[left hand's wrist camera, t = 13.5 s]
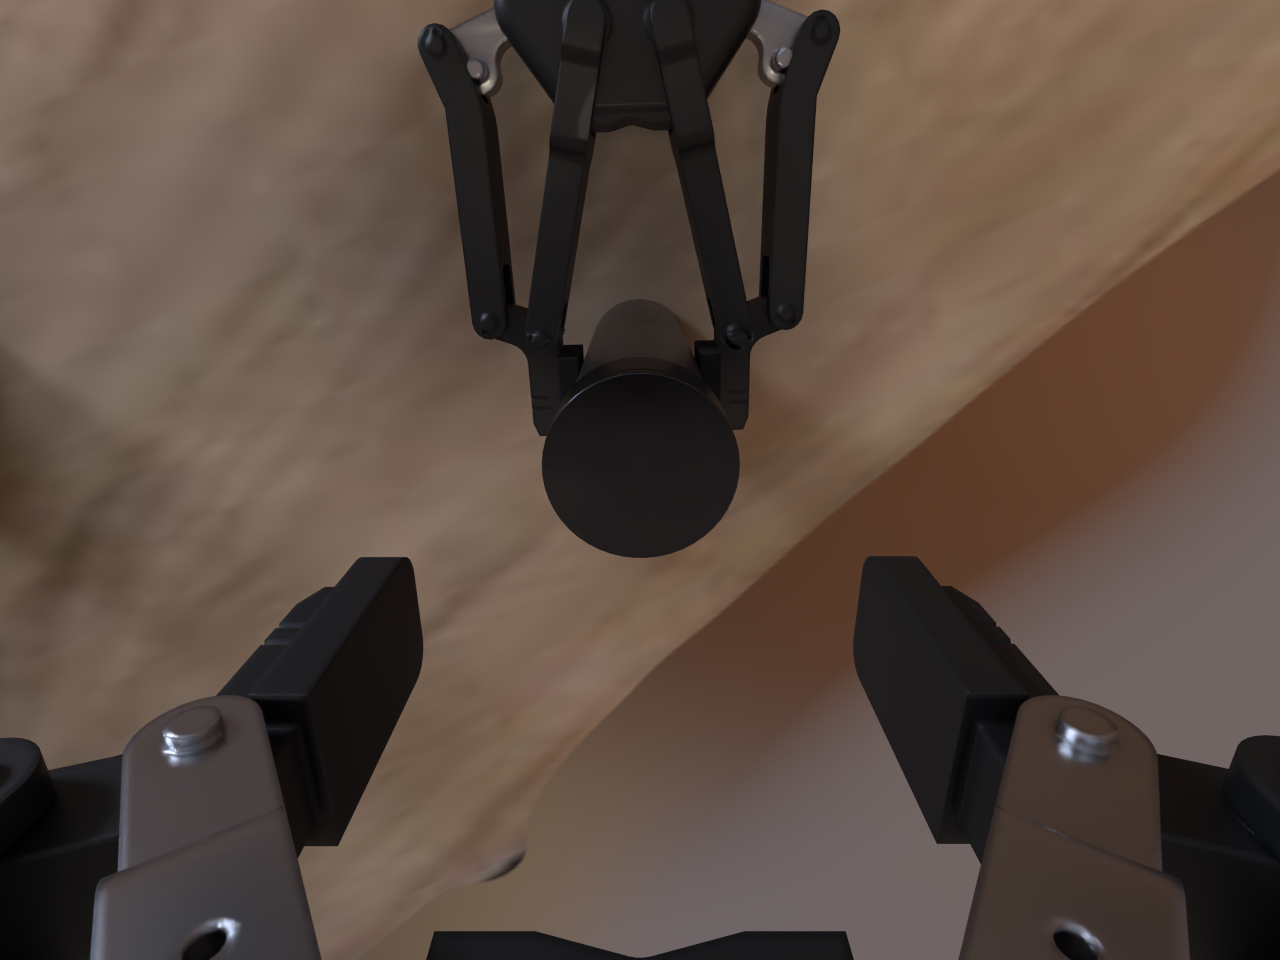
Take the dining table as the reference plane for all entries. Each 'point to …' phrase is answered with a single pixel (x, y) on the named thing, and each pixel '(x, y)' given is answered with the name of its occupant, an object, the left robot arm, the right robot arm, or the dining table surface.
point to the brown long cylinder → (639, 337)
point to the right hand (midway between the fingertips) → (643, 504)
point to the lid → (640, 458)
